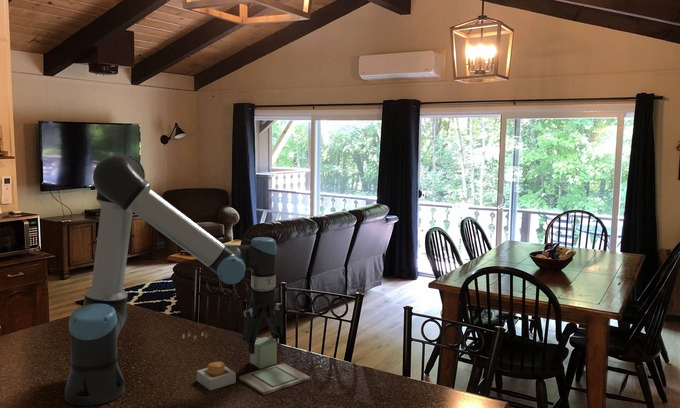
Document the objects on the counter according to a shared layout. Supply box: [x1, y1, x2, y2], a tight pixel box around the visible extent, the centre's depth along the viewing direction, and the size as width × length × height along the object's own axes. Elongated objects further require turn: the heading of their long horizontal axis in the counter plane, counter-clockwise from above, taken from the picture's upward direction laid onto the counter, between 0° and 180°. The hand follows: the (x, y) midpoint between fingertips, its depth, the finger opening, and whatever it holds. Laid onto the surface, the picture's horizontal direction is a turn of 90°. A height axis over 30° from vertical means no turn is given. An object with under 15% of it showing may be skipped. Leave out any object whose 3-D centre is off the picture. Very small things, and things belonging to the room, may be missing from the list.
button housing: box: [196, 365, 237, 391], centre depth 165 cm, size 8×8×3 cm
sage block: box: [249, 336, 278, 370], centre depth 178 cm, size 6×6×7 cm
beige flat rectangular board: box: [238, 362, 311, 396], centre depth 167 cm, size 16×13×1 cm
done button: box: [207, 361, 226, 377], centre depth 164 cm, size 5×5×3 cm
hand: (263, 360), depth 179 cm, fingers closed on sage block, 6 cm apart
